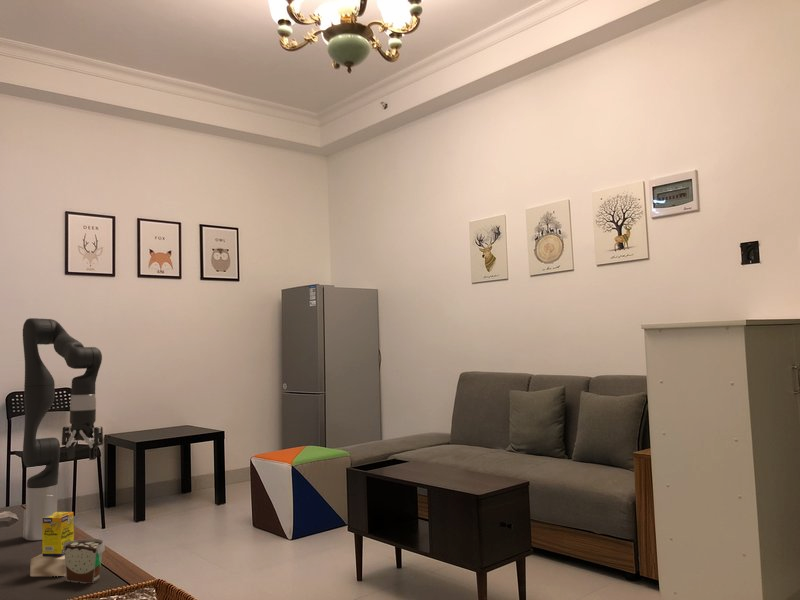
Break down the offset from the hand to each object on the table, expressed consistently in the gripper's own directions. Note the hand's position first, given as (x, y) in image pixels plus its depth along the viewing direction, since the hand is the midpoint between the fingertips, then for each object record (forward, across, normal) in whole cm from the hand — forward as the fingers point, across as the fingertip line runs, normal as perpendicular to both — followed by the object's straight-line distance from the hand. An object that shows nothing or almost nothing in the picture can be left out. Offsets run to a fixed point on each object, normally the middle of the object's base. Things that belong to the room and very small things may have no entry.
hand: (81, 459), depth 204 cm
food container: (+28, -24, +22) cm, 43 cm away
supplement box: (+24, -10, +18) cm, 31 cm away
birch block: (+28, -10, +18) cm, 35 cm away
